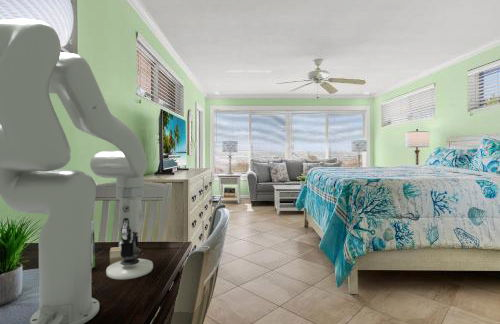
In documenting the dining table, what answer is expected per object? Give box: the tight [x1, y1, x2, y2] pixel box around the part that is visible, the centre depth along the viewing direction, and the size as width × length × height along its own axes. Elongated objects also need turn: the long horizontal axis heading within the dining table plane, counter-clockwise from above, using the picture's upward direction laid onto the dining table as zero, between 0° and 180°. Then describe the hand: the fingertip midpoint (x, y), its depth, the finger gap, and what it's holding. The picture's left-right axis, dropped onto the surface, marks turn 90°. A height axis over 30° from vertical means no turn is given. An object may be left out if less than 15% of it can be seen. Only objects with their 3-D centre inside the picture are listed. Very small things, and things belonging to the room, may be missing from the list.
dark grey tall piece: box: [119, 230, 141, 265], centre depth 87 cm, size 6×6×12 cm
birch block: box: [109, 246, 125, 265], centre depth 95 cm, size 4×4×4 cm
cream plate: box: [105, 258, 154, 280], centre depth 88 cm, size 13×13×1 cm
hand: (129, 252), depth 87 cm, fingers closed on dark grey tall piece, 5 cm apart
